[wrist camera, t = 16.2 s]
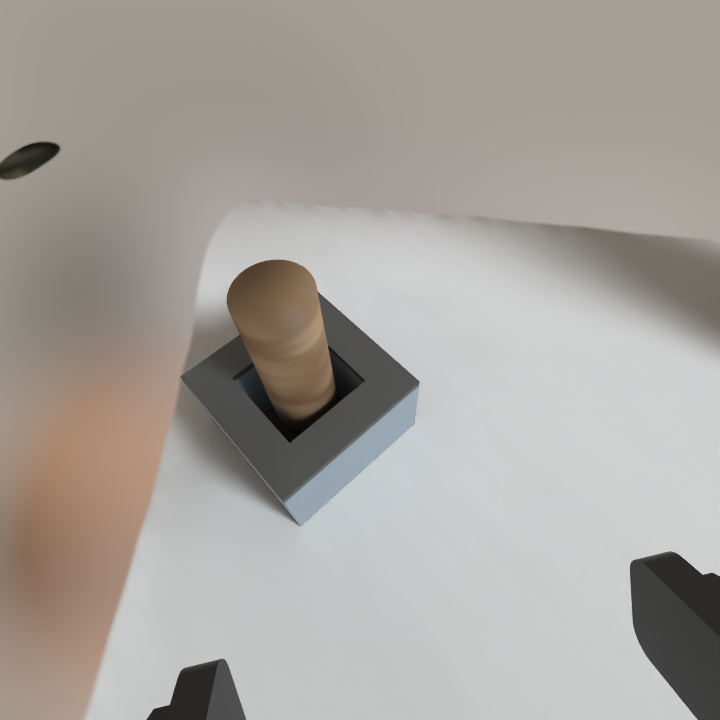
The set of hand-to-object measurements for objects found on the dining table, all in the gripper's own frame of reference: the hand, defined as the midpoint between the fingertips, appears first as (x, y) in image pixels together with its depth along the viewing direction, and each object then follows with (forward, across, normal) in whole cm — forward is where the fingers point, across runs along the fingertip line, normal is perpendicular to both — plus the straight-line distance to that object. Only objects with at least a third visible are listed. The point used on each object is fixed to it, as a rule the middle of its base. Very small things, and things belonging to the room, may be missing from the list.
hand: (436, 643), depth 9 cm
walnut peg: (+24, +3, +4) cm, 25 cm away
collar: (+24, +3, +4) cm, 25 cm away
